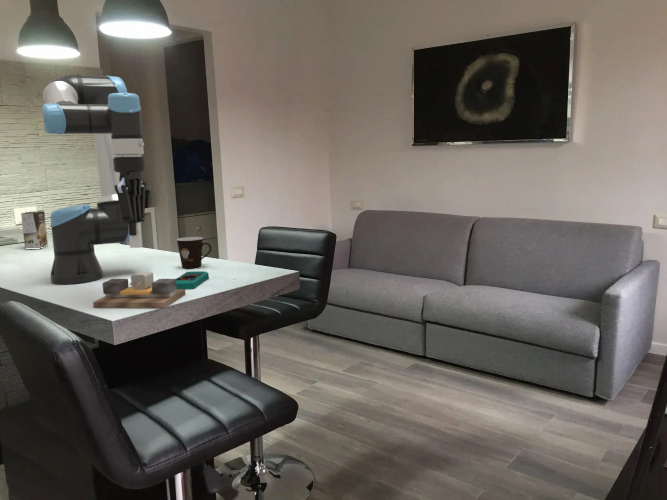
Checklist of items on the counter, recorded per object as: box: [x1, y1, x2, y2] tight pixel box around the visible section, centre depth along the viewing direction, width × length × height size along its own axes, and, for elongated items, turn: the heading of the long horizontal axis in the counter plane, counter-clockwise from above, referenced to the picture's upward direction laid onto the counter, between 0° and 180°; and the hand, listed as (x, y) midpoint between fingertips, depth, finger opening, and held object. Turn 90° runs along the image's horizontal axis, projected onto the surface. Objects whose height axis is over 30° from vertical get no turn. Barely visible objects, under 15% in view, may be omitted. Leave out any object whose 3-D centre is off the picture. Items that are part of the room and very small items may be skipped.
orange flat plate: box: [120, 285, 152, 295], centre depth 147 cm, size 8×6×1 cm
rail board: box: [92, 278, 186, 309], centre depth 147 cm, size 19×14×6 cm
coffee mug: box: [176, 236, 212, 270], centre depth 190 cm, size 12×9×10 cm
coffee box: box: [20, 210, 49, 249], centre depth 243 cm, size 9×6×16 cm
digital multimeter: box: [175, 270, 210, 290], centre depth 166 cm, size 7×15×3 cm, turn 175°
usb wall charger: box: [129, 270, 155, 290], centre depth 146 cm, size 4×7×4 cm, turn 171°
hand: (136, 247), depth 145 cm, fingers closed
